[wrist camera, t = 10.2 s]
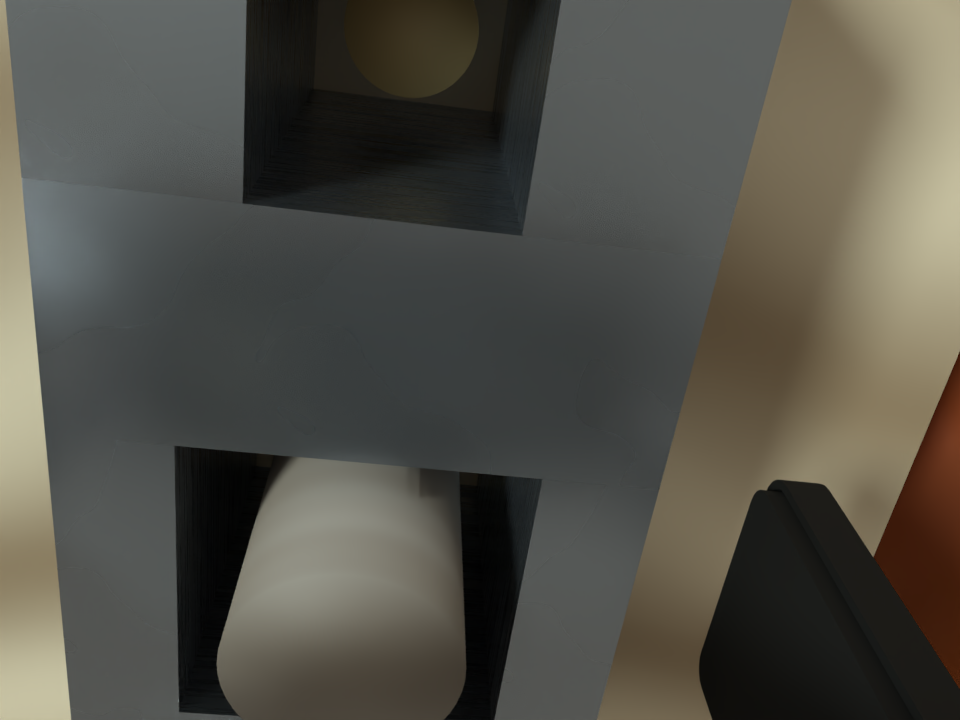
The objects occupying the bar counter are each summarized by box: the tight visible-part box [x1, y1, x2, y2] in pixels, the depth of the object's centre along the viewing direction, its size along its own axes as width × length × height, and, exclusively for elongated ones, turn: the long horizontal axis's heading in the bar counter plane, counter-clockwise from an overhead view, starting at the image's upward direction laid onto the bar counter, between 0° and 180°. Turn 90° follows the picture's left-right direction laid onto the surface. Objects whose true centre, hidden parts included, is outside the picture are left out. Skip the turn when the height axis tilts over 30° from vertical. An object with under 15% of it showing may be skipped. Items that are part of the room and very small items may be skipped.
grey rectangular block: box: [5, 0, 792, 720], centre depth 12 cm, size 16×6×5 cm, turn 172°
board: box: [0, 0, 960, 720], centre depth 15 cm, size 28×18×8 cm, turn 172°
